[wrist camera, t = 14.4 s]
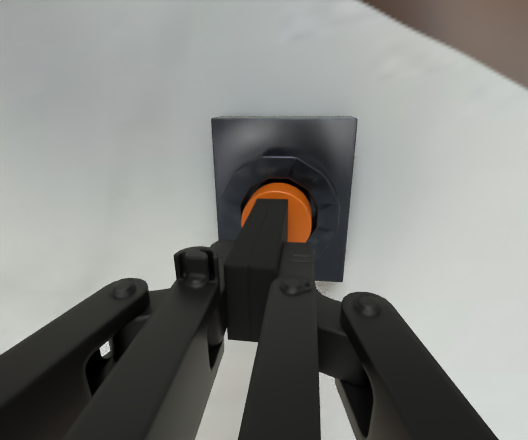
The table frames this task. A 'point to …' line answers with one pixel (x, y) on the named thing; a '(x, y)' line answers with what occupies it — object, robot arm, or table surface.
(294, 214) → the button
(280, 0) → the table surface
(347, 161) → the button block
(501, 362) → the table surface
